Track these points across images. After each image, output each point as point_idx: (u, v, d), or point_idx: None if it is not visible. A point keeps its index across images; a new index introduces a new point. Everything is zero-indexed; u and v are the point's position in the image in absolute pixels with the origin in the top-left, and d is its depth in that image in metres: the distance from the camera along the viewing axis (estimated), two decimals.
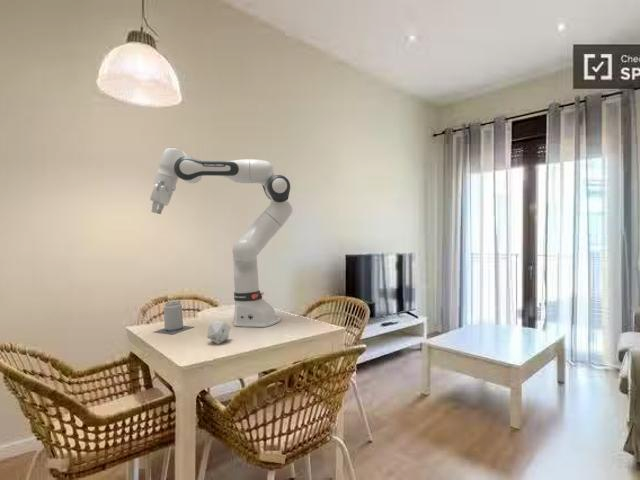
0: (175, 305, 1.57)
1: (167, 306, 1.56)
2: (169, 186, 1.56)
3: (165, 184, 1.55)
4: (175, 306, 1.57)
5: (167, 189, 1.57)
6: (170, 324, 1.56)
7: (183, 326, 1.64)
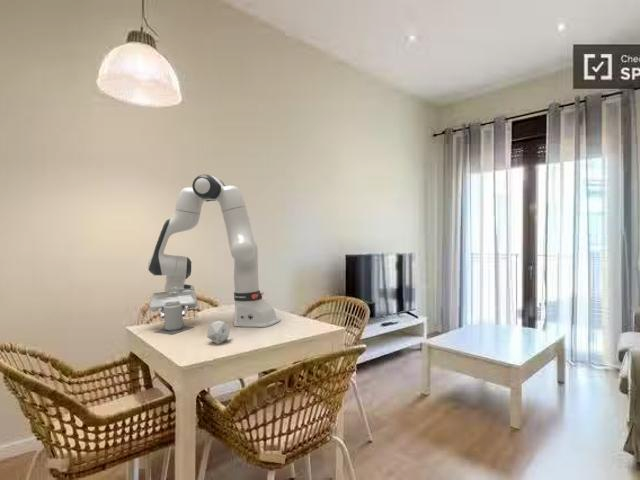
0: (175, 305, 1.57)
1: (167, 306, 1.56)
2: (165, 290, 1.64)
3: (164, 292, 1.65)
4: (175, 306, 1.57)
5: (168, 293, 1.64)
6: (170, 324, 1.56)
7: (183, 326, 1.64)
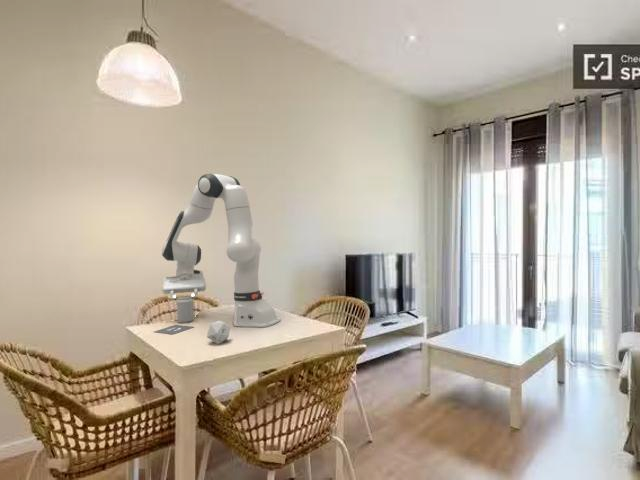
0: (187, 299, 1.71)
1: (180, 300, 1.70)
2: (177, 274, 1.79)
3: (175, 276, 1.80)
4: (187, 300, 1.70)
5: (179, 277, 1.79)
6: (182, 316, 1.70)
7: (183, 326, 1.64)
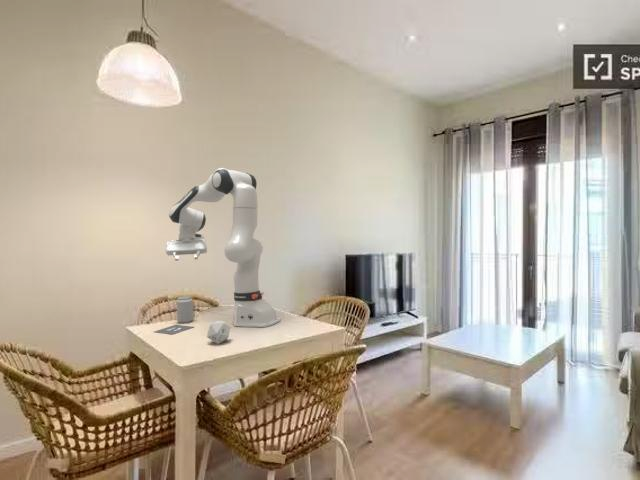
0: (187, 299, 1.71)
1: (179, 300, 1.70)
2: (179, 237, 1.90)
3: None
4: (187, 300, 1.70)
5: (182, 240, 1.89)
6: (182, 316, 1.69)
7: (183, 326, 1.64)
